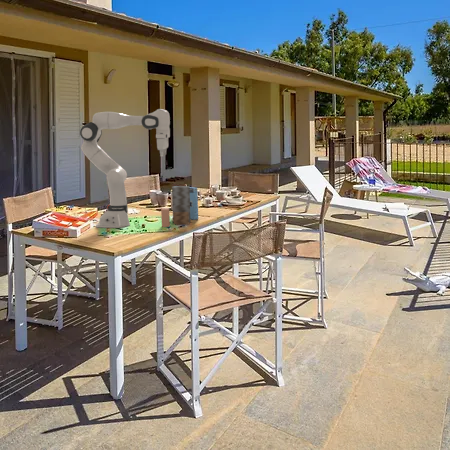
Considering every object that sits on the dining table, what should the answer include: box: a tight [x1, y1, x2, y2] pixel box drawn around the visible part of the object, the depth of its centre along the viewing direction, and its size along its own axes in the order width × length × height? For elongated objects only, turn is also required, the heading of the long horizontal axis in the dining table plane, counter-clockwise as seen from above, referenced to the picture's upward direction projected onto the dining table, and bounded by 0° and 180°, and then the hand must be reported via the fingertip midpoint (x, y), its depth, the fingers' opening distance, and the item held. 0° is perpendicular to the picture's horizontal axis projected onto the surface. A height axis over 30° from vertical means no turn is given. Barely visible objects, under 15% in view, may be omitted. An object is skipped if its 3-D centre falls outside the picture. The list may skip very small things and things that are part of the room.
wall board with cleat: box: [171, 186, 191, 226], centre depth 345 cm, size 12×9×25 cm
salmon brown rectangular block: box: [160, 207, 171, 228], centre depth 337 cm, size 5×4×12 cm
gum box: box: [174, 185, 199, 220], centre depth 366 cm, size 20×5×23 cm, turn 56°
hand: (163, 155), depth 334 cm, fingers open, 8 cm apart
